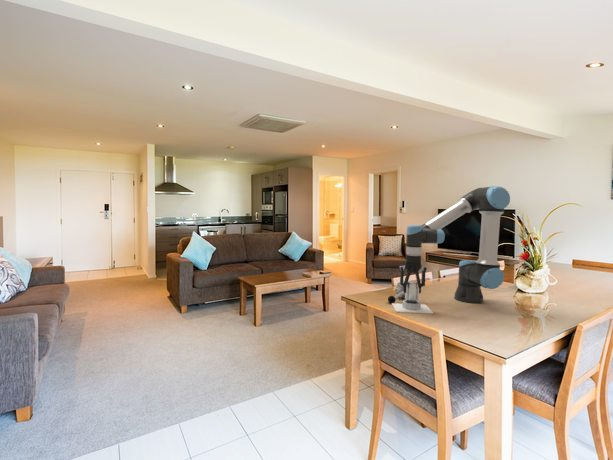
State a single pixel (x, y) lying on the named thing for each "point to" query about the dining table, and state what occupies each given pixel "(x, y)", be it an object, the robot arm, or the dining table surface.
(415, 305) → the duct panel
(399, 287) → the valve
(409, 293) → the grey upright cylinder
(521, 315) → the dining table surface
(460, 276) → the robot arm
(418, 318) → the dining table surface
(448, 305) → the dining table surface
